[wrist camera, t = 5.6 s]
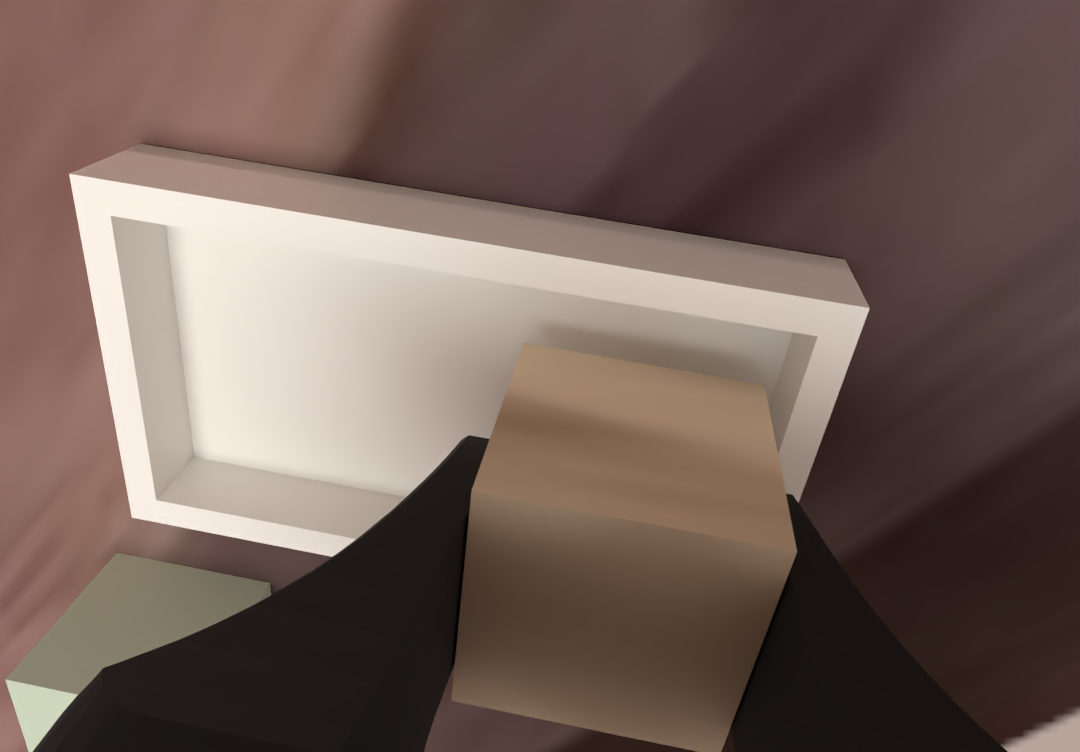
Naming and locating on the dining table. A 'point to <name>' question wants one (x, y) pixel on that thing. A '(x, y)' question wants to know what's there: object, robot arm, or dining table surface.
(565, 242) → the tray
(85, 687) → the robot arm
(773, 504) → the birch block
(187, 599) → the sage block
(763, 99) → the dining table surface
